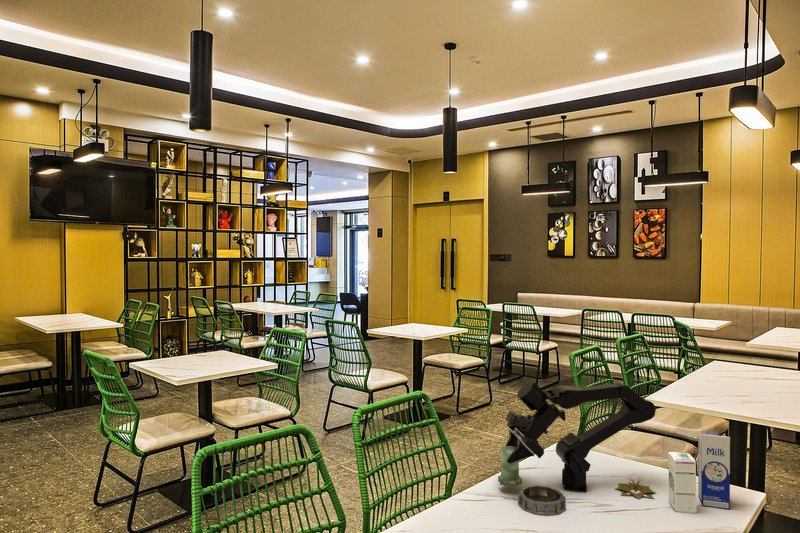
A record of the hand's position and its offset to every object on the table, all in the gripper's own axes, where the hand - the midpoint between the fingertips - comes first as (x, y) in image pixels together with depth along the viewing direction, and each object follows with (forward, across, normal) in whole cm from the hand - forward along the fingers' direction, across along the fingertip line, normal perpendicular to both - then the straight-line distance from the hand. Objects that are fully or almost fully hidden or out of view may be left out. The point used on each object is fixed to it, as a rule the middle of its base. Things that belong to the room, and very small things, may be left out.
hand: (505, 458), depth 160 cm
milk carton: (-32, +14, +46) cm, 58 cm away
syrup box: (-25, +16, +39) cm, 49 cm away
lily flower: (-20, +5, +34) cm, 40 cm away
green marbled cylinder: (+4, 0, +6) cm, 7 cm away
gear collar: (+1, +10, +12) cm, 16 cm away
